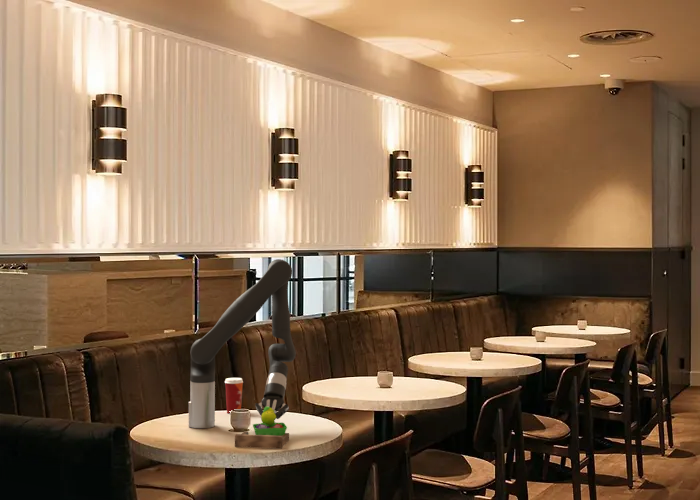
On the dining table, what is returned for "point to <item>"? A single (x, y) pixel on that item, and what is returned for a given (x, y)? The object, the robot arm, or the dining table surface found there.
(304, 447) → the dining table surface
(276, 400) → the robot arm
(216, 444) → the dining table surface
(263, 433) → the fruit basket
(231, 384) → the paper cup
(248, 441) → the frame
